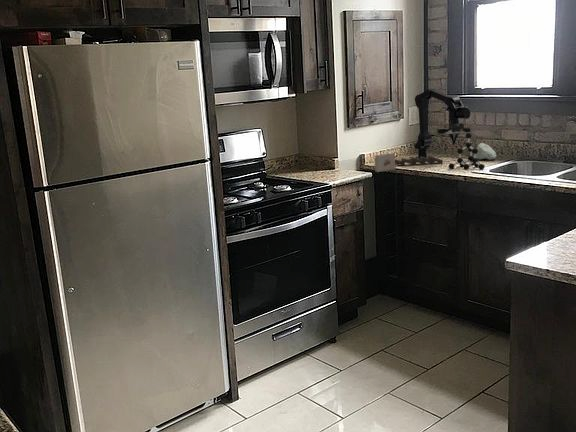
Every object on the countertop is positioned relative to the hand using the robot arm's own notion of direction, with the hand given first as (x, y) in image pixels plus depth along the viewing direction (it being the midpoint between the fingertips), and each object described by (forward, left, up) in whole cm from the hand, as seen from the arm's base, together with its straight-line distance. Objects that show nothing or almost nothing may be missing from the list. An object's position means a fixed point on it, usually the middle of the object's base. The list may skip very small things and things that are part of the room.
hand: (453, 144), depth 374 cm
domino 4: (-2, -18, -9) cm, 20 cm away
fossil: (+7, -45, -11) cm, 46 cm away
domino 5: (-1, -12, -10) cm, 16 cm away
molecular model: (+20, +1, -11) cm, 23 cm away
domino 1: (-5, -32, -10) cm, 34 cm away
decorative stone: (+2, +19, -11) cm, 22 cm away
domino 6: (0, -7, -10) cm, 12 cm away
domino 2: (-4, -29, -9) cm, 31 cm away
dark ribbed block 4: (-3, -23, -9) cm, 25 cm away
